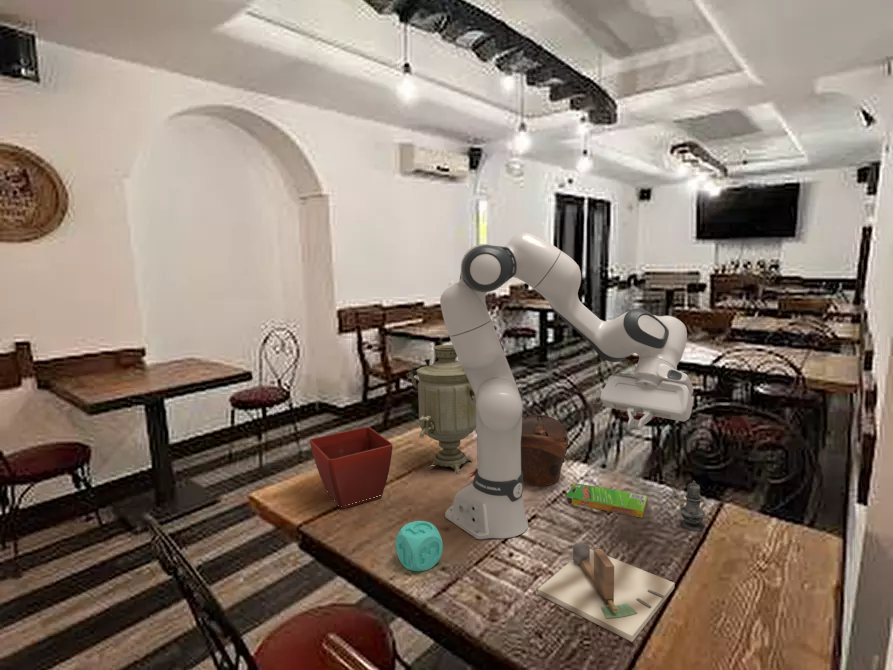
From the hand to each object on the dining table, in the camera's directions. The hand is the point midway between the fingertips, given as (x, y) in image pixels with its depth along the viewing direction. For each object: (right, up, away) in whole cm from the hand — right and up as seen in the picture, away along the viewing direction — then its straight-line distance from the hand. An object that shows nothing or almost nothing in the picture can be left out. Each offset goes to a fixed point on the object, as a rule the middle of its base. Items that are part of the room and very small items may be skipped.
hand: (634, 428), depth 117 cm
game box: (+2, -26, +27) cm, 38 cm away
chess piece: (+20, -27, +14) cm, 36 cm away
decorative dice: (-49, -31, +2) cm, 58 cm away
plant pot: (-70, -27, +36) cm, 83 cm away
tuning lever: (-12, -30, -10) cm, 34 cm away
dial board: (-10, -32, -11) cm, 35 cm away
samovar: (-43, -23, +55) cm, 73 cm away
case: (-14, -23, +44) cm, 52 cm away
